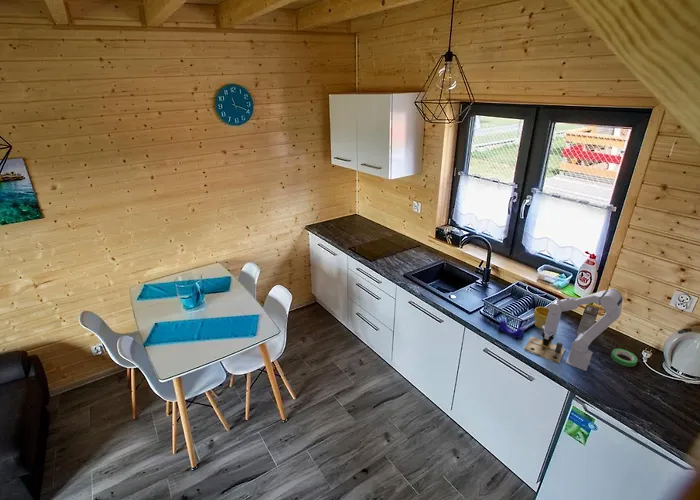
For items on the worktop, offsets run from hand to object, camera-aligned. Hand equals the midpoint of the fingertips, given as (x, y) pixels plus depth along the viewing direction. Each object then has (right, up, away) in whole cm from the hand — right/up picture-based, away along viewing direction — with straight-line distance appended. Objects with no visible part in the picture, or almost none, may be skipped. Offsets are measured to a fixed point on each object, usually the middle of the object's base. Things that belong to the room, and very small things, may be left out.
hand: (546, 343), depth 209 cm
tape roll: (+37, -7, -5) cm, 38 cm away
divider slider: (-1, -3, -1) cm, 3 cm away
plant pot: (+7, +5, +20) cm, 21 cm away
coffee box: (+28, +2, +13) cm, 31 cm away
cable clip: (-13, +3, +14) cm, 20 cm away
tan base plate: (-1, -4, 0) cm, 4 cm away
